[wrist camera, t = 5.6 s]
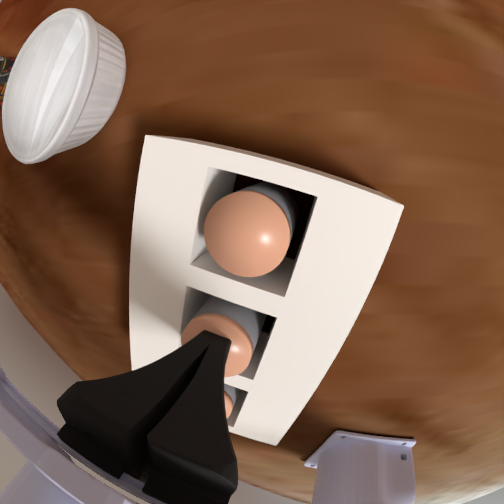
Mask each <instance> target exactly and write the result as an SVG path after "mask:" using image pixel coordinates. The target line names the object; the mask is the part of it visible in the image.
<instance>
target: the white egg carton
mask: <svg viewBox="0 0 504 504" xmlns="http://www.w3.org/2000/svg"><path fill="white" fill-rule="evenodd" d="M237 173H238V174H241V175H245V176H249V177H253V178H256V179H260V180H264V181H267V182H271V183H274V184H278V185H281V186H284V187H288V188H291V189H294V190H298V191H301V192H304V193H307V194H311V195H314V196H315V197H314V201H313V204H312V207H311V211H310V214H309V217H308V220H307V223H306V227H305V230H304V233H303V236H302V239H301V242H300V245H299V248H298V251H297V254H296V257H295V260H293V259H290V258H287V257H284V258H283V260H282V261H281V263H280V264H279V265H278V266H277V267H276V268H275V269H273V270H272V271H270V272H269V273H267V274H264V275H262V276H257V277H242V276H238V275H234V274H232V273H230V272H228V271H226V270H224V269H223V268H222V267H220V266H219V265H218V264H217V263H216V262H215V261H214V259H213V258H212V257H211V255H210V253H209V251H208V249H207V247H206V244H205V240H204V223H205V220H206V217H207V214H208V212H209V211H210V209H211V208H212V206H213V205H214V204H215V203H216V202H217V201H219V200H220V199H221V198H223V197H225V196H227V195H229V194H232V193H233V189H234V185H235V181H236V177H237ZM403 208H404V205H402V204H400V203H399V202H397V201H395V200H393V199H392V198H390V197H388V196H386V195H385V194H383V193H381V192H379V191H376V190H374V189H371V188H368V187H366V186H363V185H360V184H357V183H355V182H352V181H349V180H346V179H343V178H340V177H337V176H334V175H331V174H328V173H325V172H322V171H319V170H316V169H312V168H309V167H306V166H303V165H299V164H296V163H292V162H289V161H285V160H282V159H278V158H274V157H270V156H267V155H263V154H259V153H255V152H251V151H247V150H242V149H238V148H234V147H229V146H225V145H220V144H215V143H211V142H206V141H200V140H195V139H190V138H180V137H168V136H155V135H145V140H144V145H143V150H142V156H141V162H140V168H139V175H138V182H137V189H136V197H135V206H134V215H133V226H132V238H131V254H130V278H129V326H130V349H131V364H132V371H133V370H136V369H138V368H141V367H143V366H146V365H148V364H150V363H153V362H155V361H157V360H159V359H160V358H162V357H164V356H166V355H168V354H170V353H171V352H173V351H175V350H176V349H178V348H179V347H181V346H182V345H181V335H182V332H183V330H184V329H185V327H186V326H187V325H188V324H189V322H190V321H191V320H192V318H193V317H194V316H195V315H196V313H197V312H198V311H199V310H200V308H201V307H202V306H203V304H204V303H205V302H206V301H207V299H208V298H209V297H210V295H213V296H216V297H219V298H222V299H224V300H227V301H230V302H233V303H236V304H238V305H241V306H244V307H247V308H250V309H253V310H256V311H259V312H262V313H265V314H268V315H271V316H274V317H275V318H274V321H273V324H272V326H271V329H270V332H269V333H266V332H263V331H261V333H260V336H259V338H258V341H257V344H256V346H255V349H254V352H253V354H252V357H251V360H250V362H249V365H248V367H247V368H246V369H245V370H244V371H243V372H242V373H240V374H238V375H235V376H231V377H224V398H225V410H226V418H227V423H228V429H229V432H232V433H235V434H238V435H241V436H244V437H247V438H250V439H254V440H257V441H261V442H264V443H268V444H271V445H275V446H276V445H277V444H278V443H279V441H280V440H281V439H282V437H283V436H284V435H285V433H286V432H287V431H288V429H289V428H290V427H291V425H292V424H293V422H294V421H295V420H296V418H297V417H298V415H299V414H300V412H301V411H302V409H303V408H304V407H305V405H306V404H307V402H308V401H309V399H310V398H311V396H312V394H313V393H314V391H315V390H316V388H317V387H318V385H319V384H320V382H321V380H322V379H323V377H324V375H325V374H326V372H327V371H328V369H329V367H330V366H331V364H332V362H333V360H334V359H335V357H336V355H337V353H338V352H339V350H340V348H341V346H342V345H343V343H344V341H345V339H346V337H347V335H348V334H349V332H350V330H351V328H352V326H353V324H354V322H355V320H356V318H357V316H358V314H359V312H360V310H361V308H362V306H363V304H364V302H365V300H366V298H367V296H368V294H369V292H370V290H371V287H372V285H373V283H374V281H375V279H376V276H377V274H378V272H379V270H380V267H381V265H382V263H383V260H384V258H385V255H386V253H387V250H388V248H389V245H390V243H391V240H392V238H393V235H394V233H395V230H396V227H397V225H398V222H399V219H400V216H401V213H402V210H403Z"/></svg>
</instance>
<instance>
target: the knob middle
mask: <svg viewBox="0 0 504 504" xmlns="http://www.w3.org/2000/svg"><path fill="white" fill-rule="evenodd" d="M266 317H267V314H265V313H262V312H259V311H256V310H253V309H250V308H247V307H244V306H241V305H238V304H236V303H233V302H230V301H227V300H224V299H222V298H219V297H216V296H213V295H211V296H210V297H209V298H208V299H207V301H206V302H205V303H204V304H203V306H202V307H201V308H200V310H199V311H198V312H197V313H196V315H195V316H194V317H193V318H192V320H191V321H190V322H189V324H188V325H187V326H186V327H185V329H184V330H183V332H182V335H181V345H184V344H185V343H187V342H188V341H190V340H191V339H192V338H194V337H195V336H196V335H198V334H199V333H200V332H201V331H203V330H207V331H209V332H212V333H215V334H217V335H220V336H223V337H225V338H228V339H230V340H231V341H232V343H231V347H230V350H229V354H228V358H227V361H226V365H225V375H224V377H231V376H235V375H238V374H240V373H242V372H243V371H244V370H245V369H246V368H247V367H248V365H249V362H250V360H251V357H252V354H253V352H254V349H255V346H256V344H257V341H258V338H259V336H260V333H261V330H262V328H263V325H264V322H265V319H266Z"/></svg>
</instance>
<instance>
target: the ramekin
mask: <svg viewBox="0 0 504 504" xmlns="http://www.w3.org/2000/svg"><path fill="white" fill-rule="evenodd" d="M125 76H126V57H125V51H124V48H123V45H122V43H121V42H120V40H119V38H117V37H116V35H115V34H113V33H112V32H111V31H109V30H108V29H106V28H105V27H103V26H102V25H100V24H99V23H97V22H96V21H94V20H93V18H92V17H91V16H90V15H89V14H88V13H86V12H85V11H83V10H80V9H76V8H67V9H63V10H60V11H58V12H56V13H54V14H52V15H51V16H49V17H48V18H47V19H46V20H44V21H43V22H42V23H41V24H40V25H39V26H38V27H37V28H36V29H35V30H34V31H33V33H32V34H31V35H30V37H29V38H28V39H27V41H26V42H25V44H24V45H23V47H22V48H21V50H20V52H19V54H18V56H17V58H16V60H15V62H14V65H13V67H12V70H11V72H10V75H9V78H8V82H7V86H6V90H5V94H4V99H3V105H2V123H3V132H4V137H5V141H6V144H7V146H8V149H9V151H10V152H11V154H12V155H13V156H14V157H15V158H16V159H17V160H18V161H20V162H21V163H24V164H33V163H38V162H41V161H44V160H46V159H48V158H49V157H51V156H52V155H54V154H57V153H60V152H63V151H66V150H69V149H72V148H75V147H78V146H80V145H81V144H84V143H86V142H87V141H88V140H90V139H91V138H92V137H93V136H94V135H96V134H97V133H98V132H99V131H100V130H101V129H102V127H103V126H104V125H105V123H106V122H107V121H108V119H109V118H110V116H111V115H112V113H113V111H114V109H115V107H116V105H117V103H118V101H119V98H120V96H121V93H122V90H123V86H124V82H125Z"/></svg>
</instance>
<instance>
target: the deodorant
mask: <svg viewBox="0 0 504 504" xmlns="http://www.w3.org/2000/svg"><path fill="white" fill-rule="evenodd" d="M15 60H16V58H10V57H0V108H2V105H3V99H4V94H5V90H6V86H7V82H8V78H9V75H10V72H11V70H12V67H13V65H14V62H15Z"/></svg>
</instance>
